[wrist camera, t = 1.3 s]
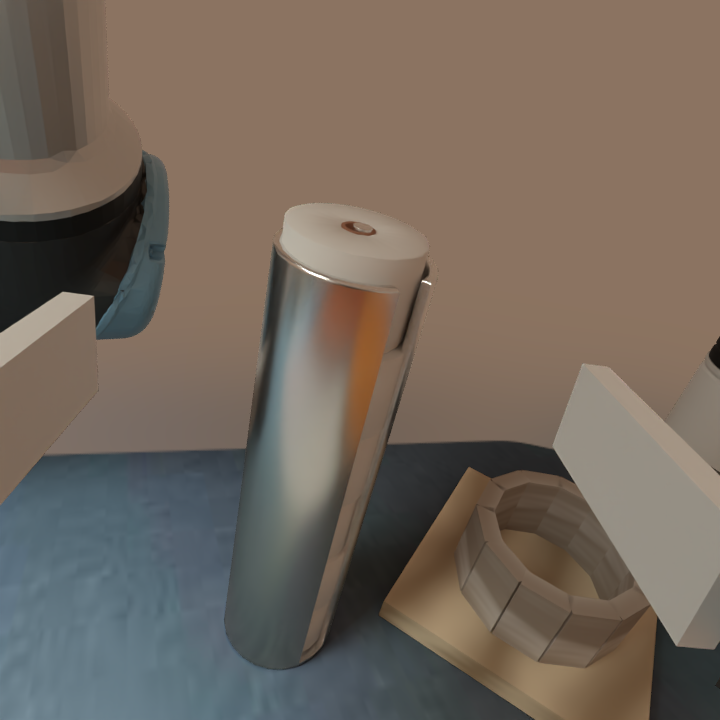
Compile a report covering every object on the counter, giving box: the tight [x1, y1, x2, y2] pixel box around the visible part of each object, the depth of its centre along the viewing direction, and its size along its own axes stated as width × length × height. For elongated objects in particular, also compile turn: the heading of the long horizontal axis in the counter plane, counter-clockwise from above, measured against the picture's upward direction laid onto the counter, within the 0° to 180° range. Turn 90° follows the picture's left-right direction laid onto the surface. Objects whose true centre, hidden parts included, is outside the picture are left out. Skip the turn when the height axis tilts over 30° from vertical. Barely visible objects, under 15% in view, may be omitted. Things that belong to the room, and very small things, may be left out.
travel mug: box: [664, 337, 720, 472], centre depth 41 cm, size 6×7×20 cm
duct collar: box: [379, 467, 657, 720], centre depth 37 cm, size 16×16×6 cm
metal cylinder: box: [224, 203, 438, 669], centre depth 27 cm, size 6×6×25 cm
